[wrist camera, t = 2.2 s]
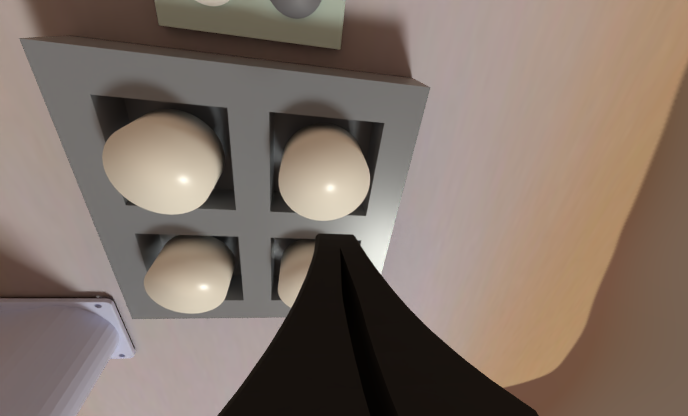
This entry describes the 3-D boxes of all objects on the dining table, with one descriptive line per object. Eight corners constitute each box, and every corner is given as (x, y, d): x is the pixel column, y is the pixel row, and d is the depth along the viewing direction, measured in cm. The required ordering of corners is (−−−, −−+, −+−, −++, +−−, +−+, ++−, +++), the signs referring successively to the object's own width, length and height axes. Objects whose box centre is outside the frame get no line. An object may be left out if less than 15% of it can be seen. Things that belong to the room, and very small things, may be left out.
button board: (150, 287, 24) (132, 318, 21) (69, 35, 14) (19, 38, 12) (363, 288, 27) (370, 316, 24) (412, 78, 17) (430, 87, 15)
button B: (142, 188, 17) (118, 212, 15) (119, 104, 15) (87, 118, 12) (228, 192, 18) (217, 216, 16) (220, 113, 15) (206, 128, 13)
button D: (169, 283, 21) (153, 313, 19) (155, 231, 19) (135, 259, 17) (237, 284, 22) (229, 313, 20) (232, 234, 19) (223, 260, 17)
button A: (281, 195, 18) (278, 219, 16) (282, 119, 16) (278, 134, 14) (356, 199, 19) (362, 222, 17) (368, 127, 17) (377, 143, 14)
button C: (280, 284, 22) (277, 312, 20) (281, 235, 20) (277, 261, 18) (341, 285, 23) (345, 312, 21) (349, 237, 21) (354, 263, 19)
